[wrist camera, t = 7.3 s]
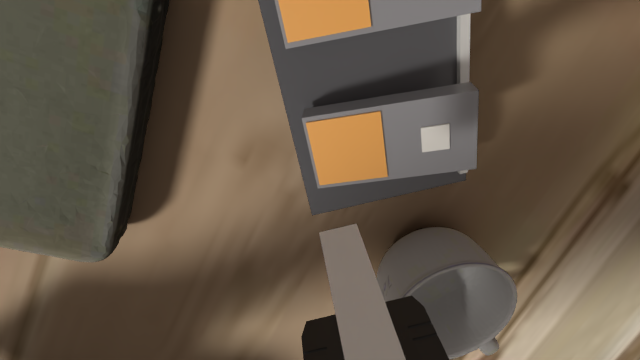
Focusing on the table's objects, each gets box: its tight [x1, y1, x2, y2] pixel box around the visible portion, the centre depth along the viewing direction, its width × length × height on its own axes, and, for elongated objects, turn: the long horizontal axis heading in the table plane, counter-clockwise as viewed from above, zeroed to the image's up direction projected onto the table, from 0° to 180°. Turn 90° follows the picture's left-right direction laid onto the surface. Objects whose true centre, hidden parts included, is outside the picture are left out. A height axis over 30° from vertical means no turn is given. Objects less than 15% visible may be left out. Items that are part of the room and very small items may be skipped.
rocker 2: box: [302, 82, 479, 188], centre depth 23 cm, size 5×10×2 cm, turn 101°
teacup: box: [377, 227, 517, 359], centre depth 34 cm, size 14×11×8 cm
